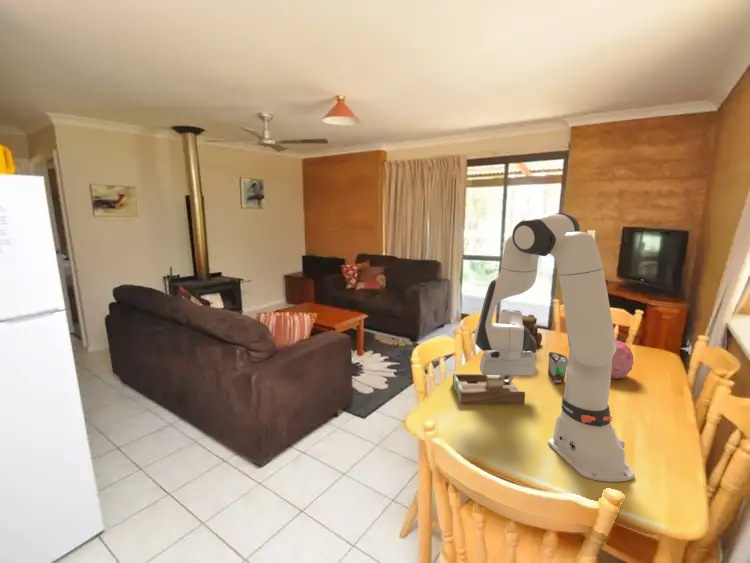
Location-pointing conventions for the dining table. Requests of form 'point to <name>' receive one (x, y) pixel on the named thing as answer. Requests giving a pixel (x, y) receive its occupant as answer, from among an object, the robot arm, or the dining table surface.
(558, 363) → the food container
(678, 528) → the dining table surface
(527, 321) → the wooden toy train
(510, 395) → the box
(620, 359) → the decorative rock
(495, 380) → the beech block
